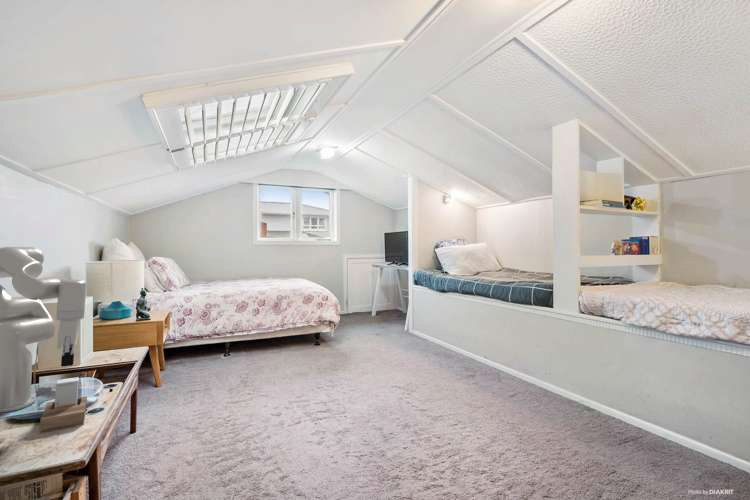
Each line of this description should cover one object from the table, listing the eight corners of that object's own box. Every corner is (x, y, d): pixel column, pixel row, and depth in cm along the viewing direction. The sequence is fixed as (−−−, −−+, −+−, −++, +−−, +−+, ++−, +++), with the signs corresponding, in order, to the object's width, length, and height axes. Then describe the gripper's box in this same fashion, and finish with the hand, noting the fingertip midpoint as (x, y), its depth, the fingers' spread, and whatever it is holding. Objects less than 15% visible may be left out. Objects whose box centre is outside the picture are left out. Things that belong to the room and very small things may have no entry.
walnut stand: (46, 415, 125) (47, 402, 125) (86, 408, 132) (86, 396, 132) (39, 433, 114) (40, 419, 114) (83, 424, 121) (84, 411, 121)
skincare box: (53, 418, 122) (55, 383, 122) (55, 412, 125) (56, 379, 125) (76, 413, 126) (78, 380, 125) (77, 409, 129) (79, 376, 129)
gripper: (59, 310, 129) (56, 360, 129) (53, 319, 117) (49, 374, 117) (85, 309, 133) (82, 357, 134) (82, 318, 121) (79, 370, 122)
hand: (67, 365), depth 125 cm, fingers closed
